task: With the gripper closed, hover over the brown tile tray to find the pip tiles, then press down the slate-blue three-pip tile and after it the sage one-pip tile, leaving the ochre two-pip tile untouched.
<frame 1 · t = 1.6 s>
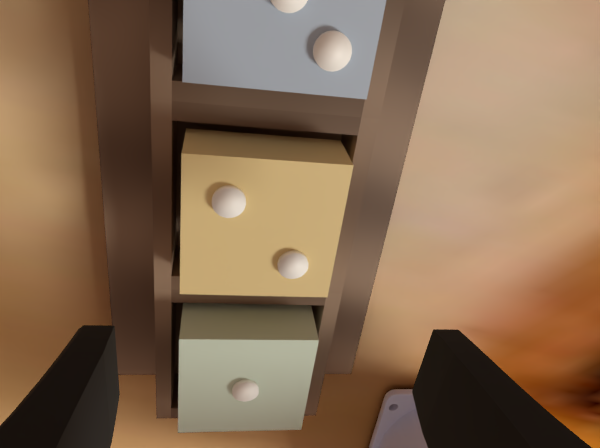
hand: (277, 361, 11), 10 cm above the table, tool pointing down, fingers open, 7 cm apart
one pip tile: (244, 370, 20), point 4 cm above the table, slide at 0.0 cm
brown tile tray: (255, 172, 20), on the table
two pip tile: (260, 218, 17), point 4 cm above the table, slide at 0.0 cm
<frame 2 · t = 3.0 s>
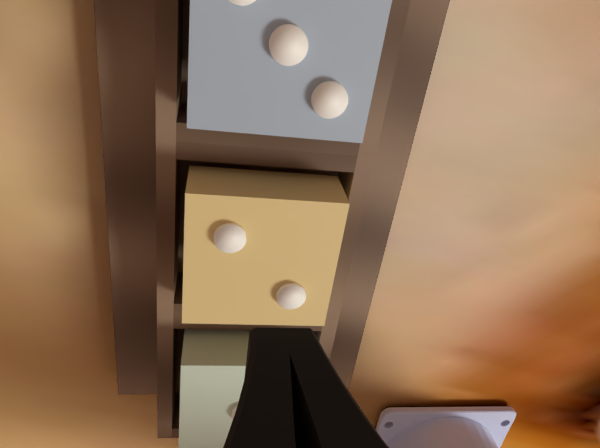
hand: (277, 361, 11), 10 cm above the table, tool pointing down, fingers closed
three pip tile: (284, 37, 14), point 4 cm above the table, slide at 0.0 cm
one pip tile: (243, 393, 21), point 4 cm above the table, slide at 0.0 cm
brown tile tray: (255, 201, 20), on the table
two pip tile: (260, 251, 17), point 4 cm above the table, slide at 0.0 cm
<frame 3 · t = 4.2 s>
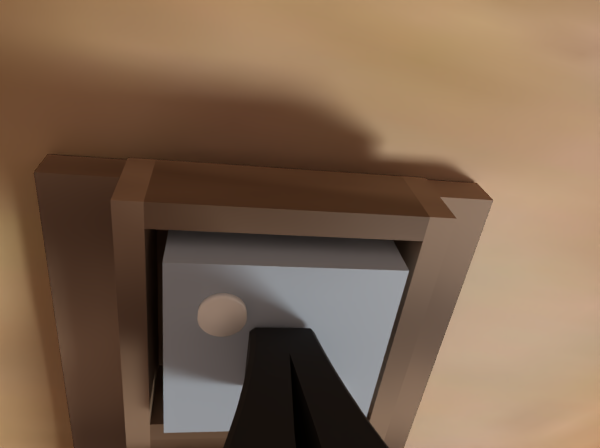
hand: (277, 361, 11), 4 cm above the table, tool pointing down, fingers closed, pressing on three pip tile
three pip tile: (274, 330, 12), point 3 cm above the table, slide at 0.9 cm, touching gripper
brown tile tray: (247, 427, 18), on the table
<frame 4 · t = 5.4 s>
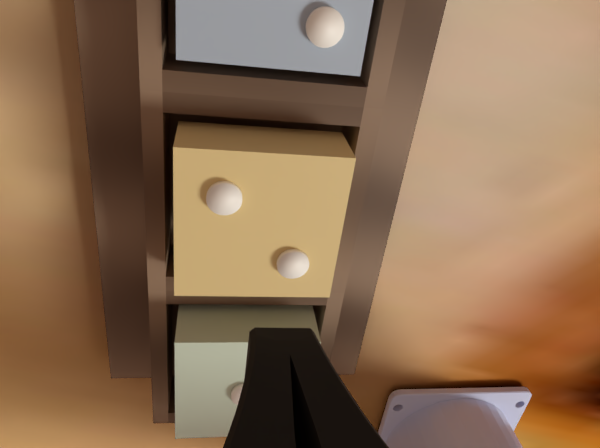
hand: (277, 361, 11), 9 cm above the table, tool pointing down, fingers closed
one pip tile: (243, 373, 19), point 4 cm above the table, slide at 0.0 cm
brown tile tray: (252, 166, 19), on the table
two pip tile: (258, 215, 16), point 4 cm above the table, slide at 0.0 cm
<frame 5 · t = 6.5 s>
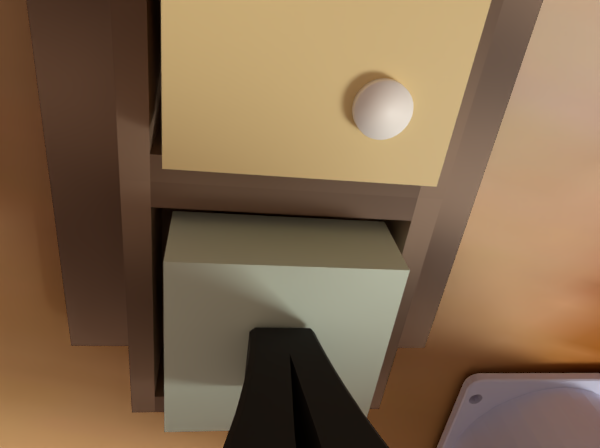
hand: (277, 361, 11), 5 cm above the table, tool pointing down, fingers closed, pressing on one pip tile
one pip tile: (275, 329, 12), point 4 cm above the table, slide at 0.1 cm, touching gripper
two pip tile: (318, 22, 9), point 4 cm above the table, slide at 0.0 cm
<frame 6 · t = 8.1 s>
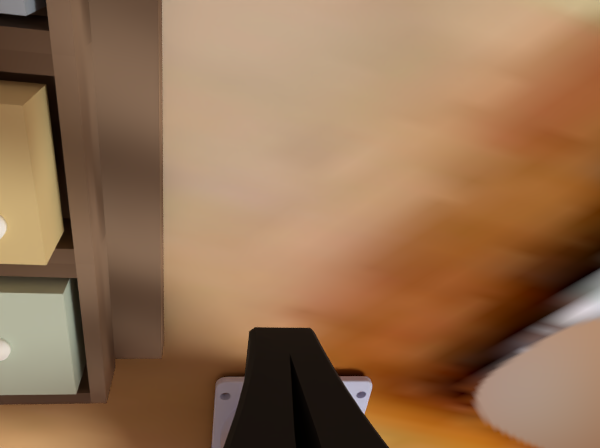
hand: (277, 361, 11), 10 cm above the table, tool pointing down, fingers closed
one pip tile: (5, 329, 19), point 2 cm above the table, slide at 1.1 cm
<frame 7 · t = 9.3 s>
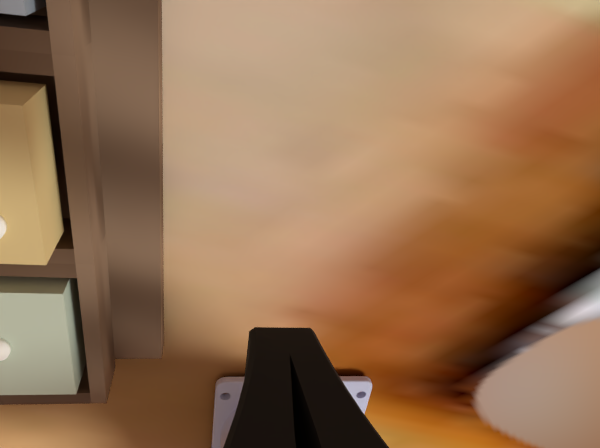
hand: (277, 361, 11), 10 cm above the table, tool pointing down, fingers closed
one pip tile: (5, 329, 19), point 2 cm above the table, slide at 1.1 cm
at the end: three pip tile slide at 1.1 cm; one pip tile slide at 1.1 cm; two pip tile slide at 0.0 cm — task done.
